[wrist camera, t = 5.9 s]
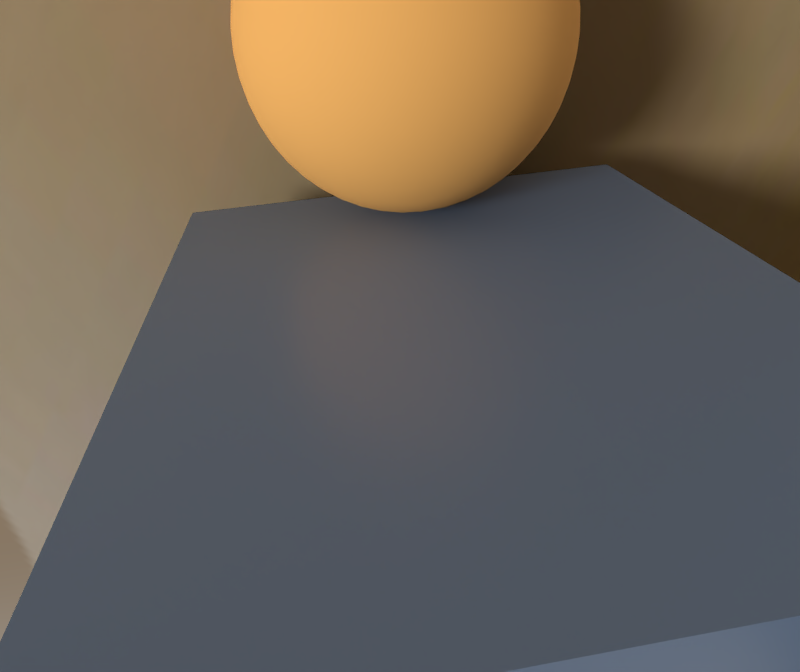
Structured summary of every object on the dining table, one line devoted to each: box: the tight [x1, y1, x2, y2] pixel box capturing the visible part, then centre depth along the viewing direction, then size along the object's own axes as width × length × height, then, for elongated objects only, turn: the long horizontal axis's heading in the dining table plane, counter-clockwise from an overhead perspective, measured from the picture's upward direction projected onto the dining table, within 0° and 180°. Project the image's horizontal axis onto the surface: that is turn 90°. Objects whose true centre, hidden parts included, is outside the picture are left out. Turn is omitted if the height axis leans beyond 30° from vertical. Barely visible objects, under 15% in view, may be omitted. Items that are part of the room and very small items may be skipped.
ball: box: [231, 0, 580, 213], centre depth 9 cm, size 5×5×5 cm
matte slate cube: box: [0, 164, 800, 672], centre depth 9 cm, size 8×8×9 cm
